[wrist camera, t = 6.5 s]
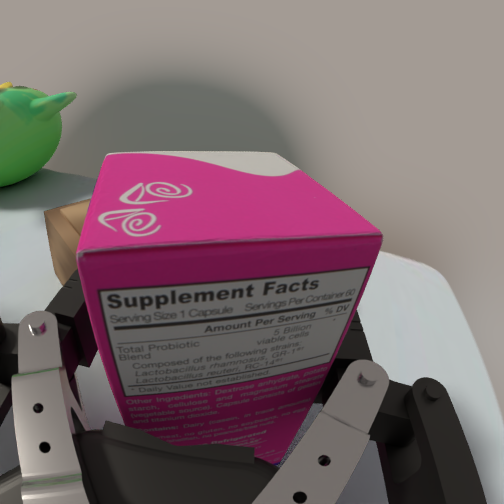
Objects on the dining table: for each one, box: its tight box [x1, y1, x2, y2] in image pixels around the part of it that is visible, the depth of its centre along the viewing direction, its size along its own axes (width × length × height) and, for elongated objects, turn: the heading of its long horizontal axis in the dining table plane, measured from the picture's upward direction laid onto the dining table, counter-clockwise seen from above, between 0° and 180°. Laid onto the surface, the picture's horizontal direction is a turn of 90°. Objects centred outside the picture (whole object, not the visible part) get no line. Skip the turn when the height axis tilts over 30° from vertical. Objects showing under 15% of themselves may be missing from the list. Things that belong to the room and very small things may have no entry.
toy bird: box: [0, 82, 77, 187], centre depth 31 cm, size 18×17×15 cm
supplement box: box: [76, 151, 383, 465], centre depth 10 cm, size 6×6×12 cm
